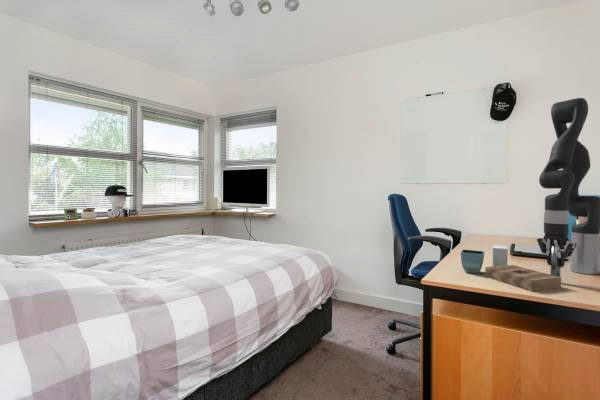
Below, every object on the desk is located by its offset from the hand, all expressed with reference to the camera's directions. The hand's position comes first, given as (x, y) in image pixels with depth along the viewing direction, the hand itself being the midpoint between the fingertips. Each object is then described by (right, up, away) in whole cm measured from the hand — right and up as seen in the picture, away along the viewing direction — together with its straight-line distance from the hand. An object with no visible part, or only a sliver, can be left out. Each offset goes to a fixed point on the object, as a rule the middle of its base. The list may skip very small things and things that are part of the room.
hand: (555, 265), depth 125 cm
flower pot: (-23, -6, +17) cm, 29 cm away
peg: (0, -4, 0) cm, 4 cm away
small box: (-10, -6, +19) cm, 22 cm away
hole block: (-13, -7, +1) cm, 14 cm away
